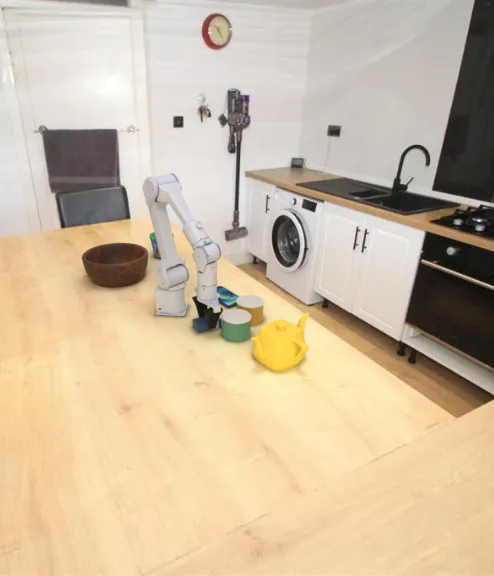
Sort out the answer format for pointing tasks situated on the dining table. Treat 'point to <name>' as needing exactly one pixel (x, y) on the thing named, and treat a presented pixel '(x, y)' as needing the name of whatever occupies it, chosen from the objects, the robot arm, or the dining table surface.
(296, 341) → the teapot
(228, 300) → the smartphone
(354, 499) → the dining table surface
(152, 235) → the snack cup
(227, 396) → the dining table surface
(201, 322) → the block
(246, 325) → the yogurt pot
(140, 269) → the wooden bowl
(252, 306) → the ochre yogurt pot
